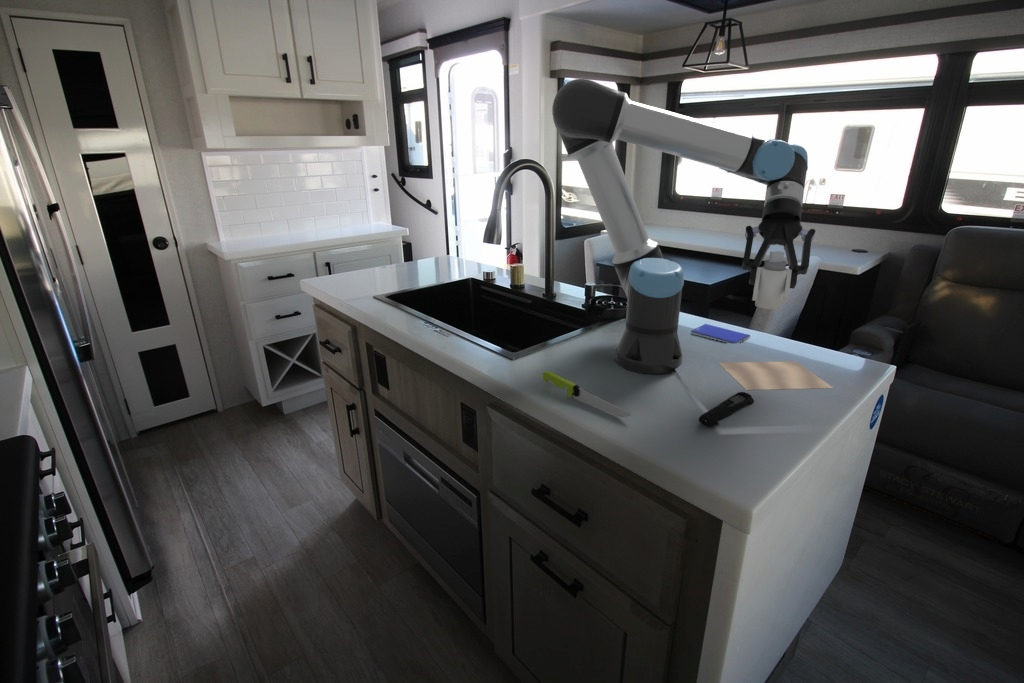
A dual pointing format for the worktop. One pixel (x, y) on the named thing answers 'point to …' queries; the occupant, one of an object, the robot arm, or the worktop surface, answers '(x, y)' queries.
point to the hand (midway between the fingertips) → (769, 298)
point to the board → (773, 375)
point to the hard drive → (720, 334)
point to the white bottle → (772, 282)
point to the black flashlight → (726, 408)
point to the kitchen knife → (584, 395)
